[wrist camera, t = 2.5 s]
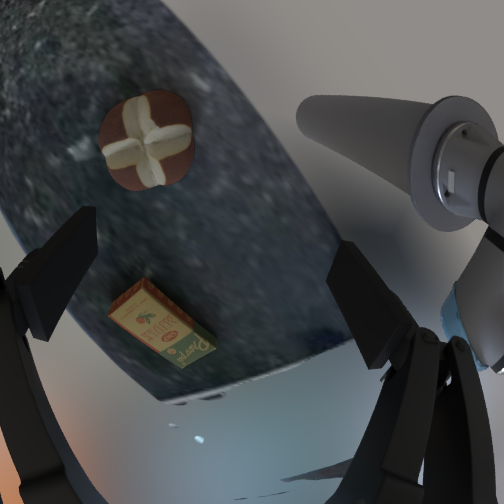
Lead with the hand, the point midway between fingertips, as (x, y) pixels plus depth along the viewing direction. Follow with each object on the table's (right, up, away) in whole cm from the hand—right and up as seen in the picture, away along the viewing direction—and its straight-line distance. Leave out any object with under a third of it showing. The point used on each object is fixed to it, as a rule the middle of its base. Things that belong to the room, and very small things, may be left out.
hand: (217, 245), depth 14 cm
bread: (-10, +13, +15) cm, 23 cm away
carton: (-12, -11, +29) cm, 33 cm away
